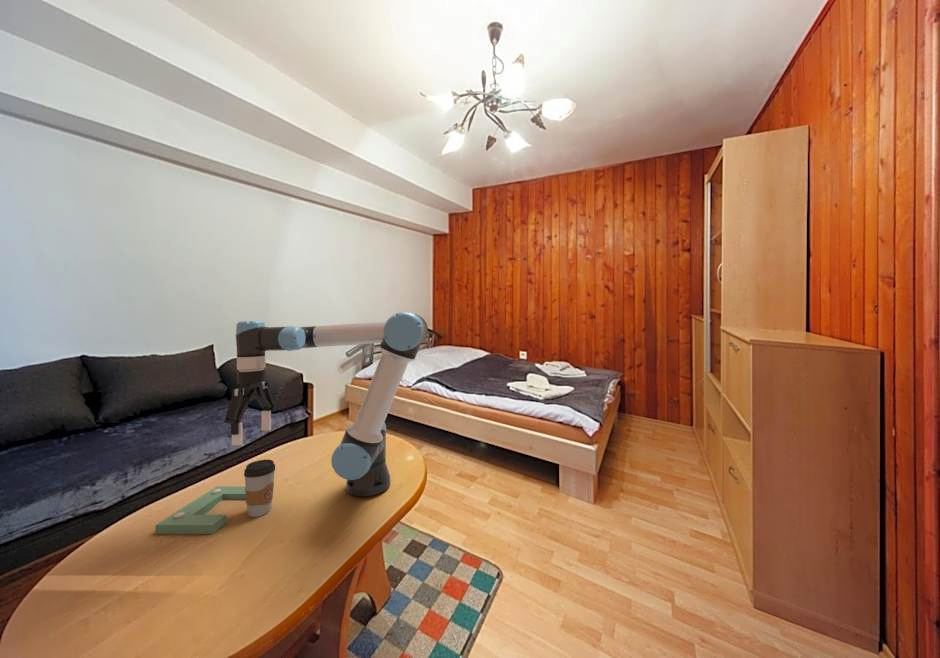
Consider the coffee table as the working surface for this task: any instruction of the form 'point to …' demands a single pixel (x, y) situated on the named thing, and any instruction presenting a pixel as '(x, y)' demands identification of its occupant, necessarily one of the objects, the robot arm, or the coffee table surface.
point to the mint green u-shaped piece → (200, 513)
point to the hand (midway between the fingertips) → (252, 437)
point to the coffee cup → (259, 487)
